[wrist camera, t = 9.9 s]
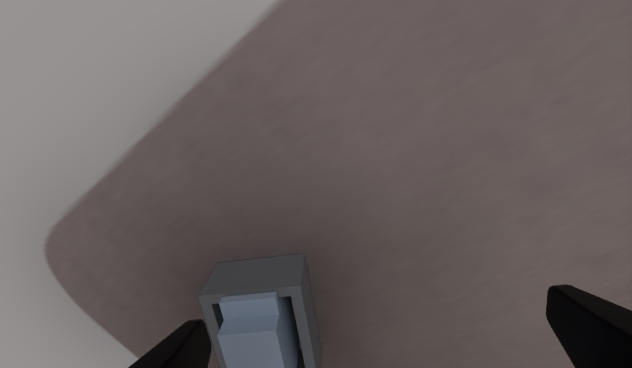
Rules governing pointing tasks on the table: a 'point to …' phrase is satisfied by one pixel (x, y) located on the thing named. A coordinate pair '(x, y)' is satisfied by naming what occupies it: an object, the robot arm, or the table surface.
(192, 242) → the table surface
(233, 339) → the block
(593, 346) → the robot arm
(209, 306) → the pocket block
